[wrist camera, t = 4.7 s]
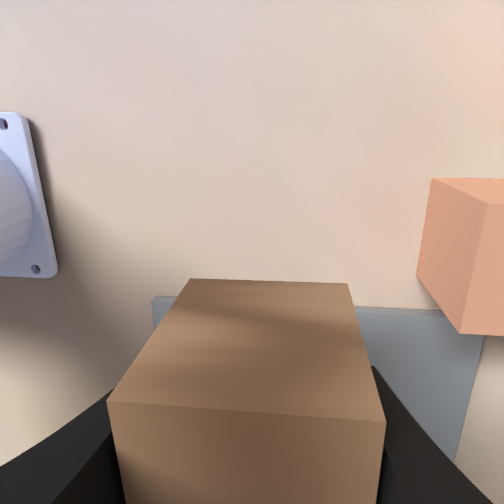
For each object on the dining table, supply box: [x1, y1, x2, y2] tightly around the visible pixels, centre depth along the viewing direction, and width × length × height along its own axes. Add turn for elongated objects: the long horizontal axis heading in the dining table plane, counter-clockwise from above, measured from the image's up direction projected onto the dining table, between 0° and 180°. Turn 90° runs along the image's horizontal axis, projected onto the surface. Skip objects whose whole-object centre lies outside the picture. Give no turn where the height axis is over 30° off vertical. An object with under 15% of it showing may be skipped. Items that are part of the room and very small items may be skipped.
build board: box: [152, 296, 485, 463], centre depth 21 cm, size 16×16×1 cm
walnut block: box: [106, 278, 386, 504], centre depth 9 cm, size 4×4×5 cm
